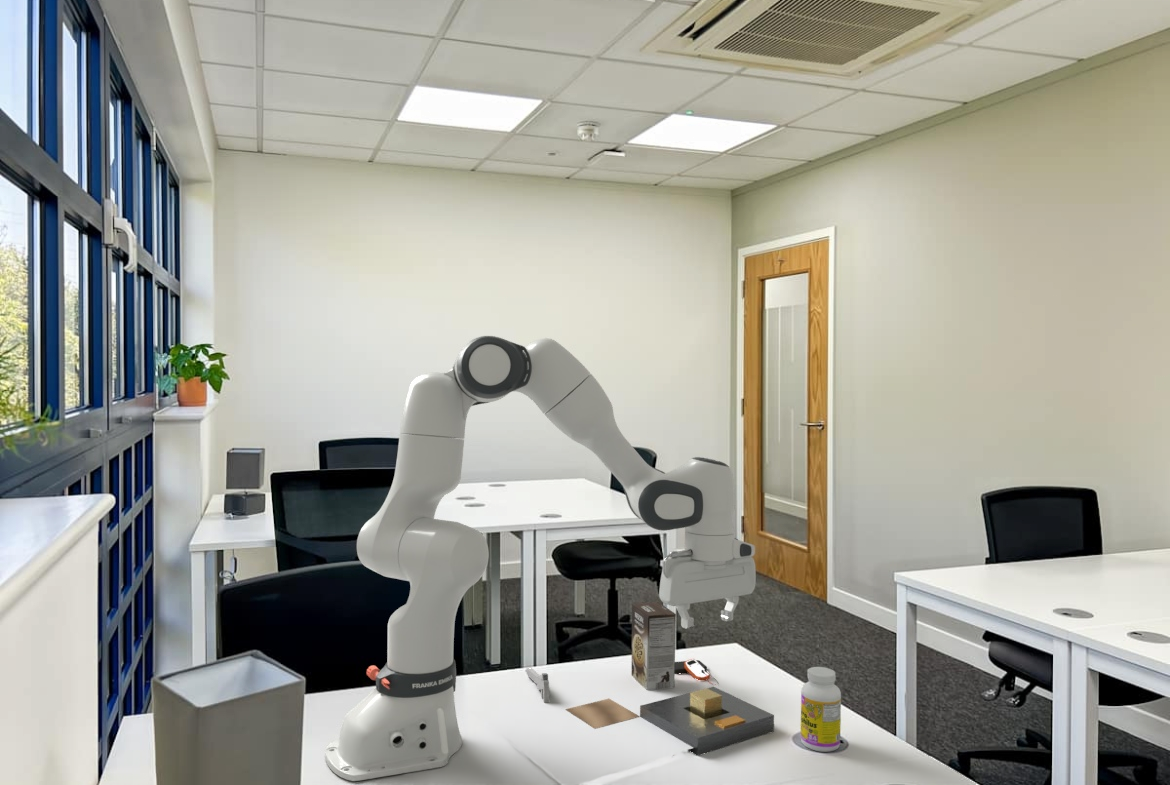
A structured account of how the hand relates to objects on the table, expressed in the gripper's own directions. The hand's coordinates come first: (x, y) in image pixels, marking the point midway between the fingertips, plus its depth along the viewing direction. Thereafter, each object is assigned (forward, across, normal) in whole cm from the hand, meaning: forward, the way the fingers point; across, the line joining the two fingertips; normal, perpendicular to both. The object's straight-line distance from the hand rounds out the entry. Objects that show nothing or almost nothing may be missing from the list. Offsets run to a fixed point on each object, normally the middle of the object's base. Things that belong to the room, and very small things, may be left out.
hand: (707, 623), depth 148 cm
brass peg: (+19, +1, +1) cm, 19 cm away
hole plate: (+19, +1, 0) cm, 19 cm away
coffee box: (+19, +4, +22) cm, 29 cm away
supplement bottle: (+19, +13, -15) cm, 28 cm away
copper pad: (+19, -14, +13) cm, 27 cm away
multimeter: (+19, +16, +19) cm, 31 cm away
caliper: (+19, -17, +33) cm, 41 cm away
